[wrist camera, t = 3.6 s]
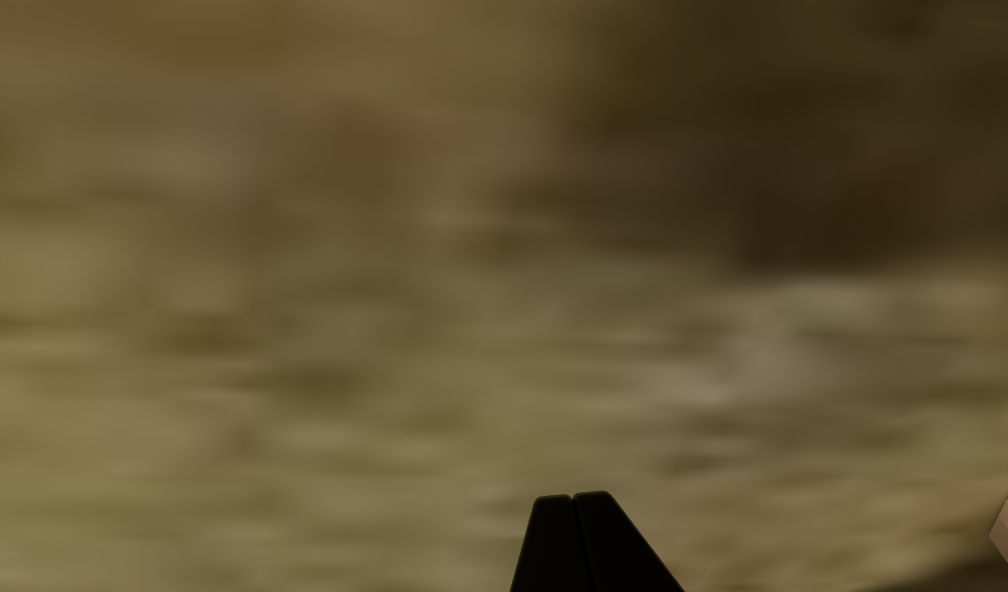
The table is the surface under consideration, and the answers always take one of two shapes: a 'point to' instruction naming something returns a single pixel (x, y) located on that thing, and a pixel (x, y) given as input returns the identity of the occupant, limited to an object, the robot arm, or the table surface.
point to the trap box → (1001, 531)
